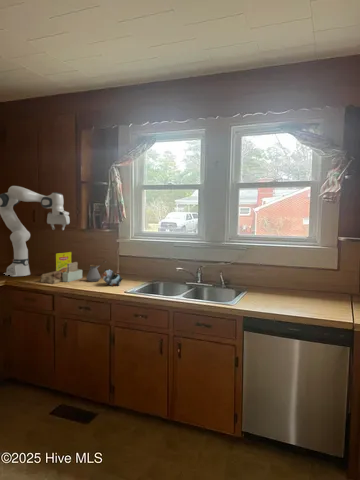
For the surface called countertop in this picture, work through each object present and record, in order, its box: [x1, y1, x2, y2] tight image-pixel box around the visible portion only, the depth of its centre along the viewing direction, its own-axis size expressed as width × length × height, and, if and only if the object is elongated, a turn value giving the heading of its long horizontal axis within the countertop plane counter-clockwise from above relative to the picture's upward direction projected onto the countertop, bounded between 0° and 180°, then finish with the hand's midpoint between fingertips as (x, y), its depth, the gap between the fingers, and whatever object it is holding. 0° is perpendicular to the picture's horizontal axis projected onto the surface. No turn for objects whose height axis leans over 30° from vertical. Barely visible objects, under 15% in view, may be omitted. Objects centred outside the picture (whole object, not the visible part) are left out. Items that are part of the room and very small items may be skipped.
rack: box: [40, 270, 63, 284], centre depth 282 cm, size 13×18×6 cm
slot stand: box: [62, 268, 83, 283], centre depth 286 cm, size 5×18×7 cm, turn 159°
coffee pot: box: [86, 260, 107, 283], centre depth 288 cm, size 21×12×15 cm, turn 152°
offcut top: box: [54, 270, 62, 278], centre depth 280 cm, size 5×10×4 cm, turn 11°
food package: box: [55, 251, 72, 273], centre depth 302 cm, size 15×1×20 cm, turn 143°
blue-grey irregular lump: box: [101, 268, 123, 287], centre depth 271 cm, size 15×12×14 cm
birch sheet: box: [67, 261, 79, 273], centre depth 286 cm, size 2×11×14 cm, turn 159°
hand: (58, 229), depth 282 cm, fingers open, 8 cm apart
